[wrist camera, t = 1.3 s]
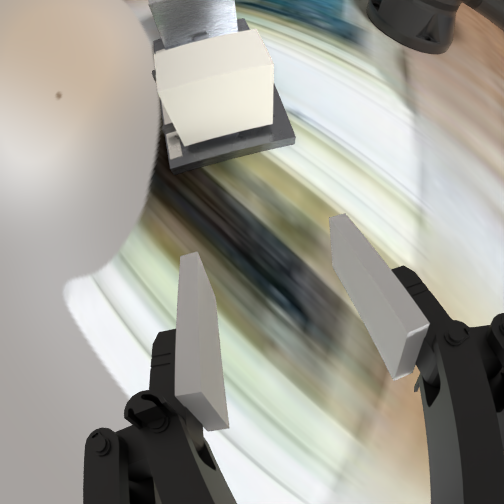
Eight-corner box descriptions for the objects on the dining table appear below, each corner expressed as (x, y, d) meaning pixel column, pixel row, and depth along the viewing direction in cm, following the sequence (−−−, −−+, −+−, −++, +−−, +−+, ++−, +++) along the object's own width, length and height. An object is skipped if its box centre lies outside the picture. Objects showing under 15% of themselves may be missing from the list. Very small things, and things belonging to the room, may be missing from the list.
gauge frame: (156, 48, 35) (136, 0, 25) (244, 25, 35) (240, -26, 25) (174, 175, 31) (142, 127, 21) (294, 144, 31) (303, 87, 21)
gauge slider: (162, 114, 30) (133, 61, 21) (259, 89, 30) (256, 28, 21) (167, 152, 29) (135, 100, 20) (272, 124, 29) (273, 63, 20)
